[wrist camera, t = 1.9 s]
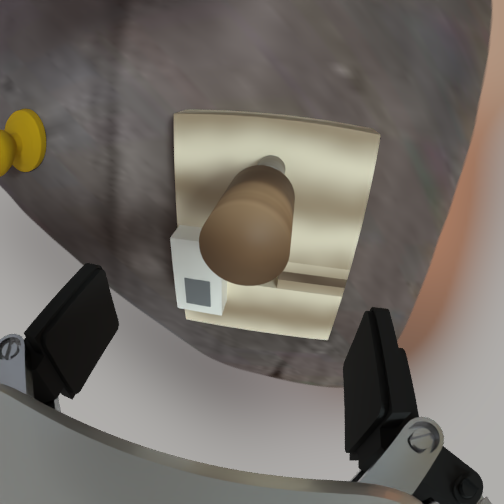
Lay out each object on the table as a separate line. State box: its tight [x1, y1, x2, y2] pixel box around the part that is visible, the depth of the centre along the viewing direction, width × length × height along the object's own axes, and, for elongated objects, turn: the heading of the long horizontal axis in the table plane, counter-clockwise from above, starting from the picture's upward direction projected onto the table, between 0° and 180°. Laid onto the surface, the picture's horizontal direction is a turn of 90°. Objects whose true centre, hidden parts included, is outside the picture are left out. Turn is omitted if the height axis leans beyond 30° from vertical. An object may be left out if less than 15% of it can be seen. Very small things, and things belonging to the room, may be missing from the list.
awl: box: [199, 155, 295, 286], centre depth 18 cm, size 4×4×12 cm
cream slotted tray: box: [174, 109, 381, 340], centre depth 28 cm, size 22×16×3 cm
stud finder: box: [170, 225, 227, 316], centre depth 28 cm, size 8×4×2 cm, turn 176°
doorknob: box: [0, 109, 46, 177], centre depth 25 cm, size 8×8×8 cm
